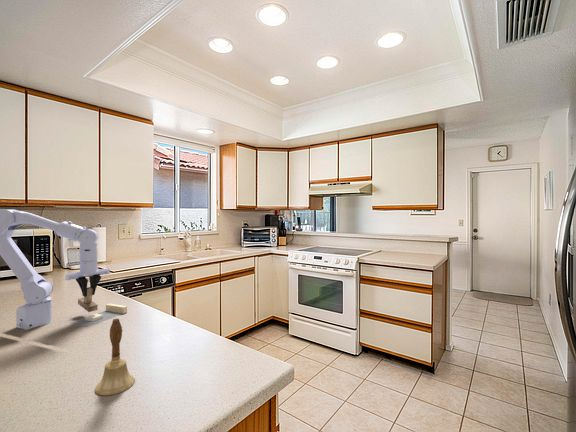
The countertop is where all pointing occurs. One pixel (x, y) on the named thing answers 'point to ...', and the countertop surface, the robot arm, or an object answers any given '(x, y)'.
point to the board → (104, 315)
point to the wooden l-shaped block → (88, 301)
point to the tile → (94, 317)
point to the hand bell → (115, 367)
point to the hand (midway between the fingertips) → (88, 295)
